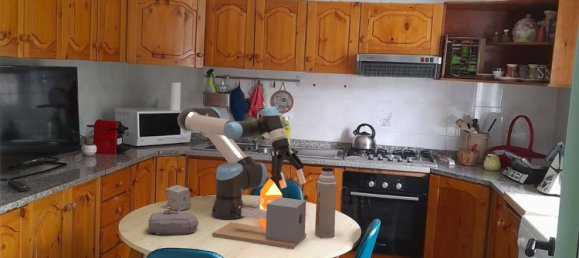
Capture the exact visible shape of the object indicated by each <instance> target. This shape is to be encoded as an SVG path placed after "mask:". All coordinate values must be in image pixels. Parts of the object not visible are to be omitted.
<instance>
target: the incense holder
mask: <svg viewBox="0 0 579 258" xmlns="http://www.w3.org/2000/svg"><path fill="white" fill-rule="evenodd" d="M164 192H165V194H166V195H167V203H166V208H167V207H170V208H169V209H172V208H174V209H173V210H175V209H177V210H179V211H181V210H182V211H184V210H186V209H190V208H191V207H192V203H191V194H190V188H189V187H186V186H182V185H179V184H176V185H173V186H170V187H167V188H165V189H164ZM177 210H176V211H177Z"/></svg>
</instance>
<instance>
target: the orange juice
mask: <svg viewBox="0 0 579 258" xmlns="http://www.w3.org/2000/svg"><path fill="white" fill-rule="evenodd" d="M259 192H260V196H259V197H260V198H259V209H265V210H267V203H269V202H271V201H273V200H274V199H276V198H278V197H280V198H283V193H282V192H281V190H280V191H279V189H278V188H277V186H276V185H275V183H274V182H273V181H272V180H271V179H270V177H269V180H268V181H267V183H266V184H265V183H264V185H263V186H262V188H261V189H260V191H259ZM259 225H260V227H266V219H260V218H259Z"/></svg>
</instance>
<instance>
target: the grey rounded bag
mask: <svg viewBox="0 0 579 258" xmlns="http://www.w3.org/2000/svg"><path fill="white" fill-rule="evenodd" d="M198 225H199V219H198V218H197V216H195V214H193V213H192V212H188V211H184V210H182V211H177V210H174V209H169V210H165V209H164V210H163V211H158V212H152V213H151V214H150V217H149V219H148V231H149V233H150V234H152V233H159V234H180V235H185V234H186V233H187V234H191V233H194V232H196V231H197V229H198ZM184 233H185V234H184ZM159 234H158V235H159Z"/></svg>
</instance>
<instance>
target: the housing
mask: <svg viewBox="0 0 579 258" xmlns="http://www.w3.org/2000/svg"><path fill="white" fill-rule="evenodd" d="M306 211H307V200H302V199H295V198H287V197H282V198H280V197H278V198H276V199H274V200H273V201H271V202H269V203H267V210H266V227H262V226H259V225H258V226H257V225H250V224H244V223H238V222H229V223H227V224H225V225H224V226H221V227H220V228H219V229H217V230H215V231H213V232H212V237H213V236H214V237H216V238H219V237H220V238H221V239H227V240H233V241H237V242H238V241H239V242H246V243H251V244H258V245H265V246H270V247H271V246H272V247H278V248H284V249H291V250H294V249H295V248H296V247H297V246H298V245H299V244H300V243H301V242H303V241H304V240H305V238H307V233H306V213H307V212H306Z"/></svg>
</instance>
